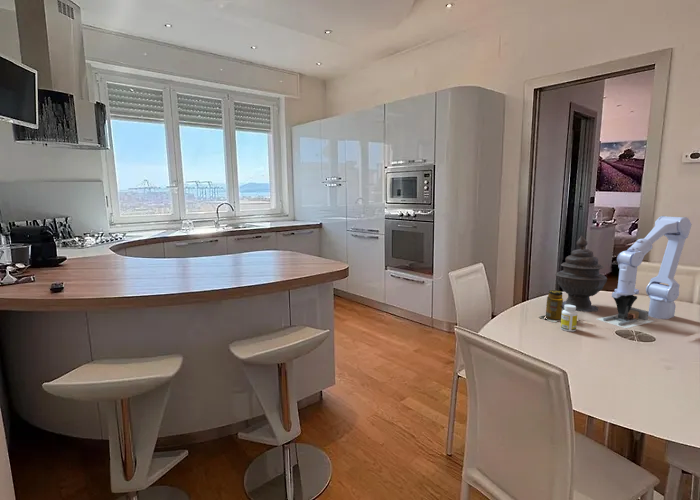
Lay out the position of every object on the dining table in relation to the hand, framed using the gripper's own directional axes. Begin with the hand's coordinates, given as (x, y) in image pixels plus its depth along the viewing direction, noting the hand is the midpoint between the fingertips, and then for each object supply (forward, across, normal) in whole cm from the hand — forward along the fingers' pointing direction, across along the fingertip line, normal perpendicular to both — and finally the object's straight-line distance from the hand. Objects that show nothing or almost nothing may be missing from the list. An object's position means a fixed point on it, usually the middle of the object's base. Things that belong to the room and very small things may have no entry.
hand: (623, 312), depth 156 cm
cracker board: (+5, -2, 0) cm, 5 cm away
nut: (+3, -7, 0) cm, 7 cm away
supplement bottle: (+5, +26, -5) cm, 27 cm away
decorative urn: (+5, -2, -21) cm, 22 cm away
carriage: (+3, -1, 0) cm, 4 cm away
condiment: (+5, +20, -17) cm, 27 cm away
